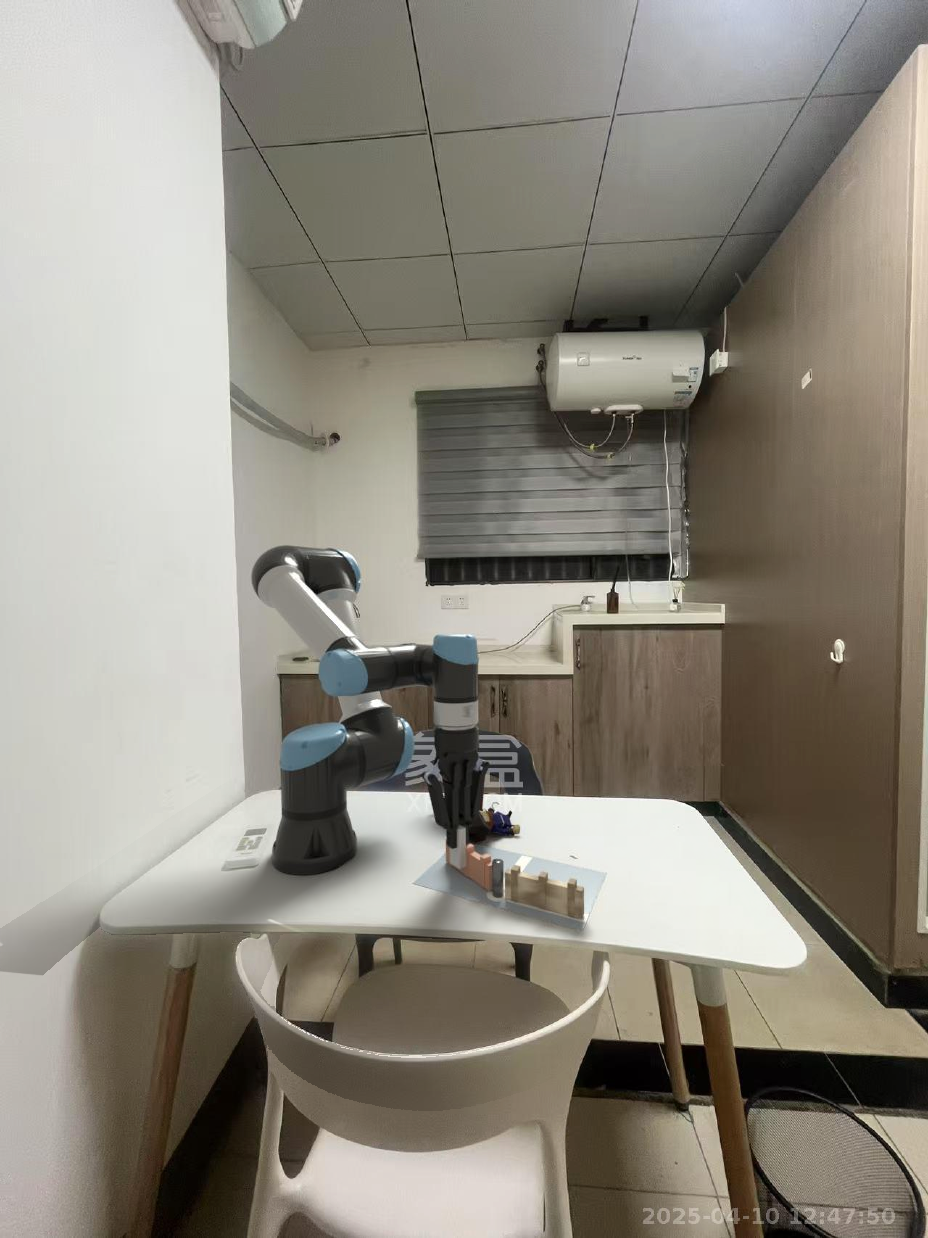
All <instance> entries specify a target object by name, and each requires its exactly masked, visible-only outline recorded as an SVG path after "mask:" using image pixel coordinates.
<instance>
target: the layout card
mask: <svg viewBox="0 0 928 1238" xmlns="http://www.w3.org/2000/svg"><path fill="white" fill-rule="evenodd" d="M469 844H472V845H474V851H475V852H476V853H478V854H480V855H481V856H482V855H485V854H489V855H490V856H491V862H492V860H494V859H501V860H503V862H504V896H503V897H501V898H495V897H493V895H492V890H491V891H489V890H487V889H486V888H483V887H482V886H480V884H478V883H477V882H475V881H474V880H472V879H471V878H470V877H467V876H465V875H464V873H462V872H461V871H459V870H458V869H456V868H455V867H453V866H451V865H449V863H448V862H446V852H445V853H444V854H443V855H441V857H440V858H438V859H437V860H436V861H435V862H434V863H433V864H432V865H431V866H430V867H428V869H426V870H425V871H424V872H423V873H422V874H421V875H420V876H419V877H418V878H416V880H414V881H413V882H412V884H413V885H417V886H421V887H424V888H426V889H427V888H428V889H430V890H435V891H438V892H440V893H445V894H449V895H452V896H455V897H459V898H463V899H467V900H470V901H473V902H477V903H480V904H484V905H488V906H491V907H493V908H498V909H503V910H506V911H508V912H513V913H516V914H519V915H524V916H527V917H531V918H533V919H538V920H541V921H545V922H547V923H551V924H552V923H553V924H556V925H559V926H562V927H566V928H569V929H573V930H577V931H580V932H583V930H584V928H585V926H586V924H587V921H588V919H589V916H590V914H591V912H592V909H593V907H594V905H595V902H596V899H597V898H598V895H599V893H600V890H601V889H602V885H603V883H604V881H605V878H606V876H607V872H604V871H599V870H595V869H591V868H586V867H582V866H577V865H573V864H568V863H565V862H564V863H563V862H559V861H554V860H550V859H545V858H541V857H537V856H532V855H527V854H523V853H519V852H514V851H510V850H505V849H501V848H496V847H492V846H488V845H483V844H479V843H473V842H471V841H468V843H467V844H466V845H469ZM514 865H517V866H520V869H521V872H523V873H527V874H532V875H536V876H539V874H540V873H541V871H543V872H547V873H548V879H552V880H557V881H561V882H565V883H568V881H569V879H570V878H573V879H577V886H581V887H584V916H583V918H582V919H581V918H578V917H572V916H568V915H567V914H563V913H559V912H555V911H552V910H548V909H542V908H539V907H537V906H533V905H529V904H526V903H522V902H516V901H512V900H511V899H507V898H505V871H506V870H507V869H512V867H513V866H514Z"/></svg>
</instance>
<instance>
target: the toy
mask: <svg viewBox="0 0 928 1238" xmlns="http://www.w3.org/2000/svg"><path fill="white" fill-rule="evenodd" d="M494 804H497V805H500V803H499V802H497V801H495V802H492V804H491V807H489V808H488V809H487V810H486V809H485V808H483V809H479V815H478V818H477V819H476V820H474V819H473V820H472V821H471V822H472V823H473V826H472V827H471V828H469V836H468V837H469V841H468V842H470V843H475V844H479V843H481V842H485V841H486V839H487V838H488V836H489V835H490V833H491V834H492V833H497V834H500V835H505V836H511V837H515V836H516V835H520V832H521V825H520V824H512V822H511V821H512V820H511V818H512V814H513V811H512V810H509V811H508V813H507V814H504V813H503V812H500V811H496V812H495V810H496V809H495V808H494Z"/></svg>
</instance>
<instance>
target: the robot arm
mask: <svg viewBox="0 0 928 1238" xmlns="http://www.w3.org/2000/svg"><path fill="white" fill-rule="evenodd" d="M253 564H254V565H253V567H252V570H251V576H250V577H251V578H250V581H251V585H252V589H253V591H254V592H255V594H256V596H257V597H258V599H260V601H261V602H262V603H263V604H264V605H266V606H267V607H269V608H272V609H274V610H276V612H277V613H278V614H279V615H280V617H282V618H283V620H285V622H286V624H288V626H289V627H290V628H291V629H292V630H293V631H294V632H295V633H296V635H297V636H298V637H299V638H300V640H301V641H302V642H303V643H304V644H305V645H306V646H307V648H308V649H309V650H310V652H312V654H313V655H314V656H315V657H316V658H317V659H318V661H319V664H318V679H319V681H320V682H321V688H322V690H323V691H324V692H325V693H326V694H327V695H329V696H331V697H335V698H338V701H339V702H338V703H339V706H340V709H341V712H342V716H341V718H340V719H339V722H333V721H332V722H328V721H327V722H322V723H314V724H309V725H305V726H302V727H299V728H297V729H295V730H293V731H291V732H290V733H288V734H287V735H286V736H285V737H284V739H283V740H282V742H281V744H280V758H279V762H278V763H279V767H280V796H281V797H280V799H281V804H280V805H281V818H280V822H279V825H278V828H277V833H276V836H275V837H276V838H275V841H274V842H273V845H272V848H271V862H272V865H273V867H274V868H275V869H276V870H278V871H280V872H283V873H285V874H290V875H300V876H301V875H302V876H303V875H313V874H314V875H315V874H319V873H324V872H329V871H331V870H335V869H336V868H337V869H338V868H339V867H341V866H344V865H345V864H347V863H348V862H350V861H351V860H352V859H353V858H354V856H355V855H356V854H357V853H358V852H357V851H358V839H357V833H356V831H355V830H354V829H353V825H352V821H351V818H350V815H349V811H348V806H347V804H348V800H347V799H348V798H347V797H348V794H347V792H348V791H350V790H353V789H356V788H359V787H364V786H366V785H369V784H373V783H376V782H379V781H383V780H384V781H385V780H386V781H387V780H390V779H391V778H393V777H394V776H398V775H400V774H402V773H403V772H405V771H406V770H407V769H408V768H409V766H410V765H411V763H412V760H413V757H414V753H415V738H414V732H413V729H412V727H411V726H410V723H409V722H408V721H406V720H405V719H404V718H402V717H399V716H396V715H395V712H394V710H393V707H392V705H390V704H388V703H386V702H384V701H383V698H382V695H381V693H380V692H383V691H390V690H397V689H404V688H409V687H426V688H427V687H428V688H433V723H434V724H435V725H436V726H435V728H434V729H433V732H434V733H433V736H434V738H433V740H434V745H433V746H434V750H435V757H434V760H433V766H432V767H431V768H430V769H429V770H428V771H426V770H425V771H422V773H421V778H422V779H423V781H424V783H426V786H427V791H428V794H429V798H430V802H431V803H430V804H431V807H432V811H433V817H434V821H435V824H436V825H437V826H439V827H441V828H443V829H444V830H445V831H446V833H445V835H446V839H445V845H446V844H447V846H448V847H450V863H451V864H452V865H454V866H456V867H457V868H459V869H461V868H463V867H466V844H467V843H468V842H470V841H469V837H468V836H469V828H471V827H472V826H473V823H472V822H471V821H472V820H473V819H474V820H476V819H477V818H478V815H479V809H480V804H481V798H482V792H483V786H484V787H485V781H486V780H485V779H486V775H487V772H488V771H489V768H490V765H491V763H490V762H489V761H486V760H484V759H482V758H480V756H479V755H480V754H479V752H478V750H477V749H478V748H479V746H480V739H479V738H480V737H479V735H480V733H479V732H480V731H479V730H480V729H479V727H478V726H477V724H478V723H479V662H480V658H479V652H478V640H477V638H476V636H475V635H473V634H471V633H470V634H469V633H459V634H458V633H444V634H443V633H442V634H436V635H435V636H434V637H433V640H432V641H433V643H432V644H420V643H415V642H409V643H399V644H396V645H391V646H390V645H389V646H376V647H375V646H373V647H368V646H367V645H366V643H365V640H364V637H363V634H362V631H361V628H360V624H359V621H358V619H357V618H358V617H357V615H356V612H355V609H354V604H355V602H356V600H357V597H358V593H359V592H360V588H361V585H362V582H361V581H360V580H361V578H362V575H361V569H360V566H359V564H358V562H357V561H356V559H355V557H354V556H353V555H352V554H350V553H349V552H347V551H345V550H341V549H340V550H339V549H337V548H331V547H327V548H322V547H321V548H320V547H318V548H317V547H306V546H299V545H298V546H296V545H287V544H285V545H277V546H275V547H271V548H270V549H267V550H266V551H265V552H263V553H262V554H261V555H260V556H259V557H257V559H256V561H255V562H254V563H253ZM484 780H485V781H484ZM442 785H443V788H442Z"/></svg>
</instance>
